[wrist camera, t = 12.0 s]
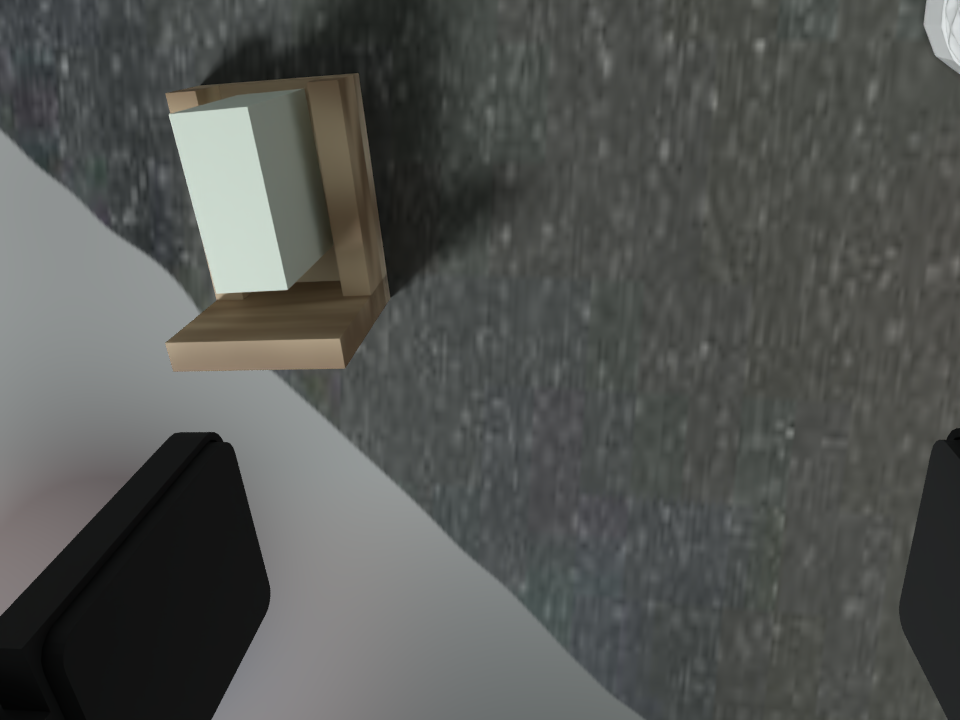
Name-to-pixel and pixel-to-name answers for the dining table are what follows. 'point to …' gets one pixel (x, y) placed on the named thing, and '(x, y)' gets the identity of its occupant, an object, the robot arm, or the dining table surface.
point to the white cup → (944, 30)
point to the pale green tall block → (255, 188)
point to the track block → (331, 280)
